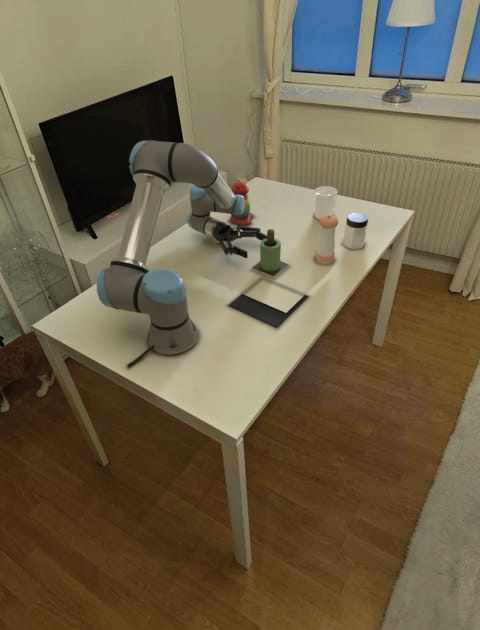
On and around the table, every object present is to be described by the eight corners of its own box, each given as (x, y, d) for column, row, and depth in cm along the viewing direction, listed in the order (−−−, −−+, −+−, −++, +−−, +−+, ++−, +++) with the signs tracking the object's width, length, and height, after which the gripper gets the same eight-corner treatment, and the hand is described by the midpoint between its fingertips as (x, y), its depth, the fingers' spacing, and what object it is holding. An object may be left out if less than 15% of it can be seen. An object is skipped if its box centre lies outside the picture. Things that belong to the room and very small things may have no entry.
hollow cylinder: (272, 273, 161) (273, 250, 154) (256, 267, 164) (256, 244, 158) (283, 264, 165) (284, 241, 159) (267, 258, 169) (267, 236, 162)
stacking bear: (249, 226, 191) (249, 188, 180) (227, 224, 193) (225, 186, 181) (254, 215, 199) (253, 177, 188) (232, 213, 201) (230, 176, 190)
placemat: (276, 328, 139) (276, 327, 139) (228, 305, 149) (228, 304, 149) (308, 296, 151) (308, 296, 151) (261, 278, 161) (261, 277, 160)
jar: (361, 251, 172) (366, 224, 165) (341, 247, 175) (344, 220, 167) (365, 240, 179) (370, 214, 171) (346, 237, 181) (349, 210, 174)
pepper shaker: (325, 267, 165) (330, 221, 152) (311, 259, 169) (314, 214, 157) (337, 260, 168) (343, 215, 156) (323, 252, 173) (328, 208, 160)
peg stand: (273, 279, 160) (274, 240, 150) (251, 270, 165) (251, 232, 154) (288, 266, 166) (290, 229, 155) (266, 258, 171) (267, 221, 160)
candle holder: (309, 212, 199) (311, 188, 191) (328, 209, 201) (331, 184, 193) (318, 222, 192) (320, 197, 184) (338, 218, 194) (341, 193, 186)
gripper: (239, 226, 184) (278, 242, 173) (197, 250, 171) (236, 270, 159) (238, 210, 180) (279, 226, 168) (195, 234, 166) (236, 252, 155)
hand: (258, 247), depth 164 cm, fingers open, 13 cm apart
